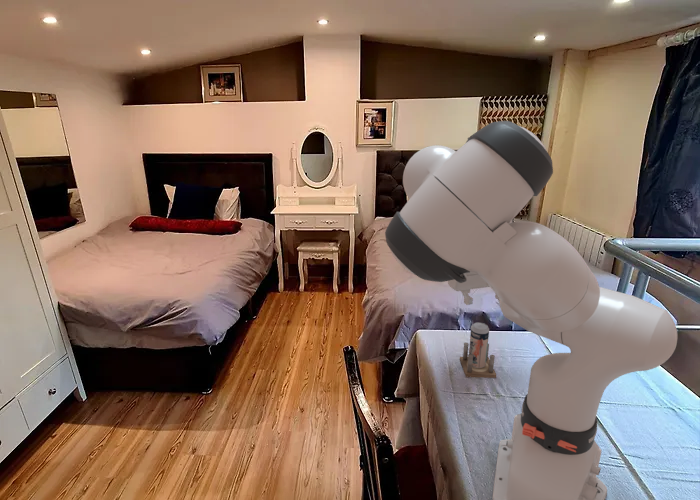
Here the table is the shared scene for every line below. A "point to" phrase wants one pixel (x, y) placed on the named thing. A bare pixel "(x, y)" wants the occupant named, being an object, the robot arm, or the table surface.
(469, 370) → the holder
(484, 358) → the beer can
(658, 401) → the table surface
